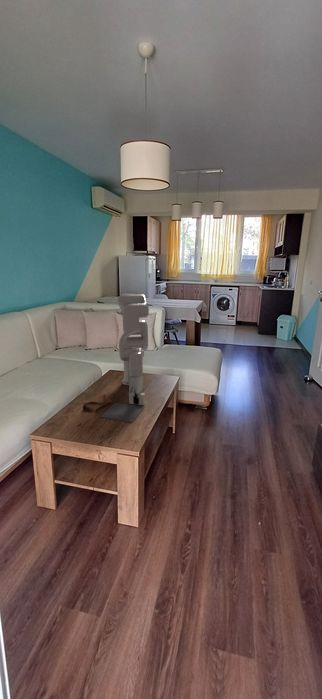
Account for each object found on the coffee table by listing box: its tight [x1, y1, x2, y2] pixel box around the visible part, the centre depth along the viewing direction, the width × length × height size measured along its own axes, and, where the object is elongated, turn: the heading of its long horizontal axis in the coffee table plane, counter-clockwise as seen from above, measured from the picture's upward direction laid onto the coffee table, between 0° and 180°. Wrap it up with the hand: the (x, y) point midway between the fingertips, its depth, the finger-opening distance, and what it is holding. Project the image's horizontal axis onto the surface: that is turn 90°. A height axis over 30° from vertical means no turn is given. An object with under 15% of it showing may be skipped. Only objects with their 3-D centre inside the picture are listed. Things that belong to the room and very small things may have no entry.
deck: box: [128, 392, 146, 406], centre depth 189 cm, size 2×9×6 cm, turn 73°
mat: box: [100, 402, 145, 424], centre depth 179 cm, size 18×18×1 cm
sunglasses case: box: [82, 394, 115, 414], centre depth 188 cm, size 18×7×7 cm
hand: (137, 402), depth 190 cm, fingers closed on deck, 2 cm apart
